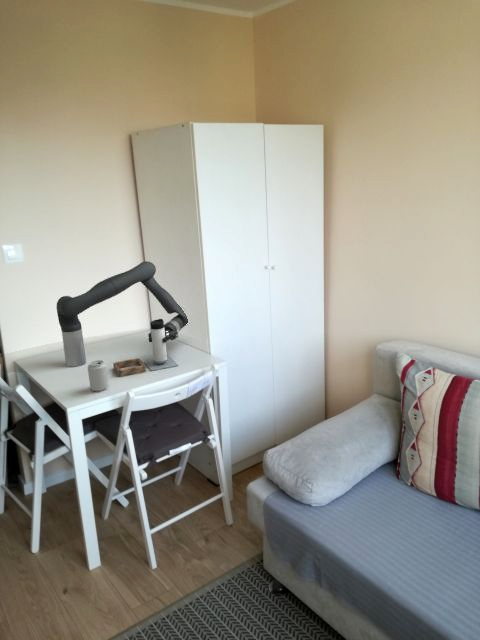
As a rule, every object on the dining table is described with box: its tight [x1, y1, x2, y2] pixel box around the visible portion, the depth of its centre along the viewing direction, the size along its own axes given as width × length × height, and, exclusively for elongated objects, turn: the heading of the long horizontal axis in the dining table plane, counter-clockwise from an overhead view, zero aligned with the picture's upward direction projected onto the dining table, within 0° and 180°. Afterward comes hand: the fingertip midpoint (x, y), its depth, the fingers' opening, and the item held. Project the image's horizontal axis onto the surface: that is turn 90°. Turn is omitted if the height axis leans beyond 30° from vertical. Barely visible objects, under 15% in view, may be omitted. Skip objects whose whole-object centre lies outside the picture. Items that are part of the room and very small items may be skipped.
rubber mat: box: [143, 356, 179, 372], centre depth 242 cm, size 13×13×1 cm
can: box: [87, 359, 109, 392], centre depth 215 cm, size 8×8×12 cm
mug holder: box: [112, 357, 147, 378], centre depth 235 cm, size 12×12×3 cm
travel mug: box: [149, 318, 168, 363], centre depth 238 cm, size 6×7×20 cm
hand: (156, 340), depth 236 cm, fingers closed on travel mug, 6 cm apart
